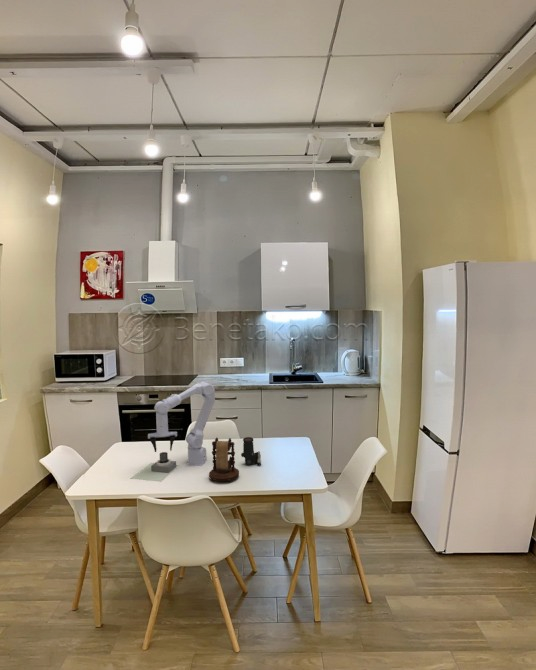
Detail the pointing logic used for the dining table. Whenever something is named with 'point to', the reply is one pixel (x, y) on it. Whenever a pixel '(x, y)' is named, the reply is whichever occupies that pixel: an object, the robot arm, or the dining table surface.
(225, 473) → the scroll
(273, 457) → the dining table surface
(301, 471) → the dining table surface
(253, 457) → the scope
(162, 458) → the lens
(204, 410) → the robot arm
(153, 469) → the camera body
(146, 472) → the mat
